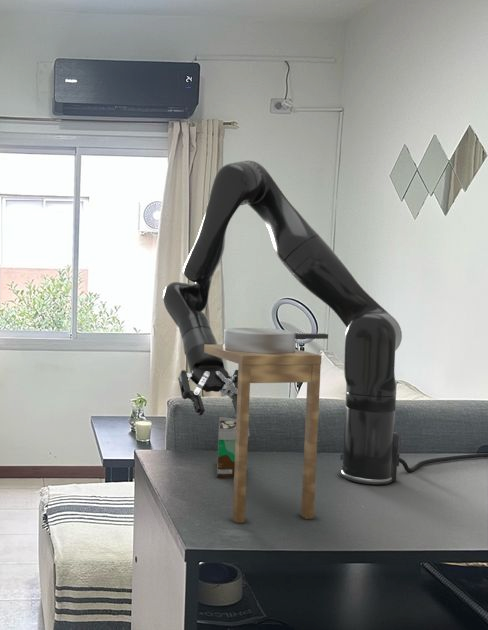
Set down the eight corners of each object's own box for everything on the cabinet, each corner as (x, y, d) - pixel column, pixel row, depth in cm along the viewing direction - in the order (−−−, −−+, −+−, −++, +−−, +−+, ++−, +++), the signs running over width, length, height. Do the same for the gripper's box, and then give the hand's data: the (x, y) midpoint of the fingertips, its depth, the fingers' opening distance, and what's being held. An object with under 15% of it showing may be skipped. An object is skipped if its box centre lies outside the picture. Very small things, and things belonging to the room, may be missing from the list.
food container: (249, 482, 145) (251, 431, 144) (217, 479, 146) (219, 429, 145) (247, 465, 157) (249, 418, 156) (217, 463, 158) (219, 416, 157)
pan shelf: (297, 488, 141) (304, 327, 139) (345, 517, 126) (353, 335, 123) (199, 492, 137) (204, 326, 135) (236, 523, 122) (243, 335, 119)
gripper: (176, 341, 164) (194, 403, 153) (237, 341, 166) (258, 402, 156) (167, 362, 169) (184, 423, 159) (226, 362, 172) (246, 421, 162)
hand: (220, 412), depth 157 cm, fingers open, 8 cm apart
